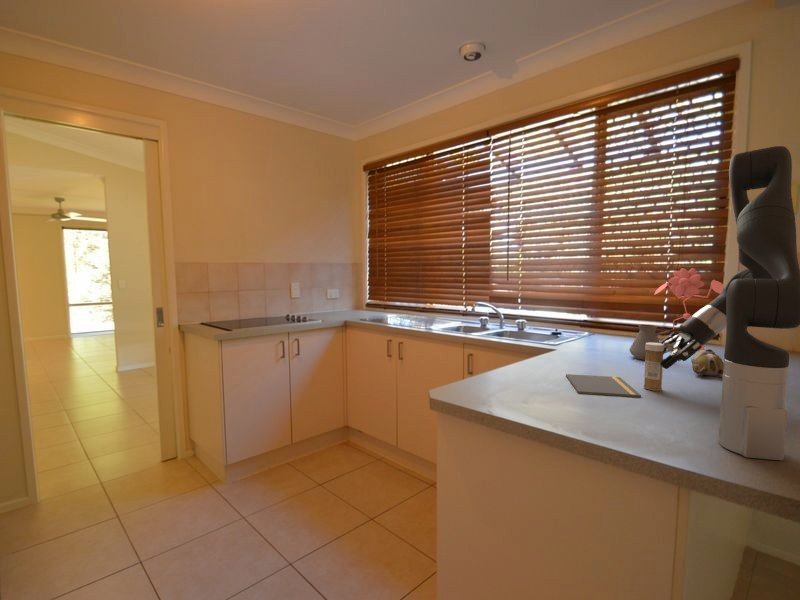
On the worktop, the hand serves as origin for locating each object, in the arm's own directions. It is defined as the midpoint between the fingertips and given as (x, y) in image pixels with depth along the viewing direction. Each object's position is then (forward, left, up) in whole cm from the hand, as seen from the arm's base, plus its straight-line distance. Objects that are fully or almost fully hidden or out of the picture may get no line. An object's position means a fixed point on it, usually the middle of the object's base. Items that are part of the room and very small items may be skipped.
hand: (656, 362), depth 114 cm
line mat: (0, +15, -8) cm, 17 cm away
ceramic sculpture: (+21, -24, -8) cm, 33 cm away
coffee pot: (+39, -16, -8) cm, 43 cm away
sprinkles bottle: (0, +1, -8) cm, 8 cm away
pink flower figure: (+59, -31, -8) cm, 67 cm away
